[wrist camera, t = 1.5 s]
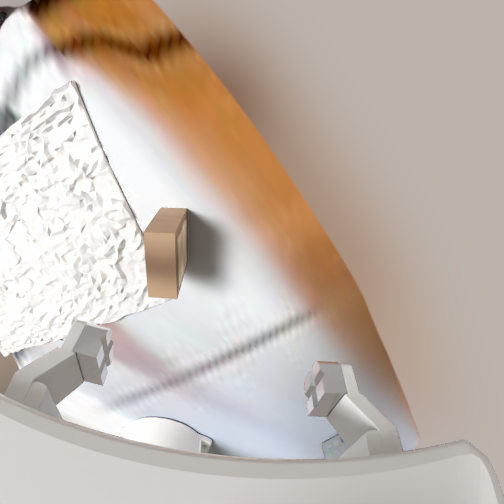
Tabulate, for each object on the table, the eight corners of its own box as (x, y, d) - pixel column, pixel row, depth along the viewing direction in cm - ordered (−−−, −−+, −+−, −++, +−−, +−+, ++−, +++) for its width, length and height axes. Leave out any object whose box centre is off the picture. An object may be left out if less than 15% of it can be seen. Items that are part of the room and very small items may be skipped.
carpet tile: (77, 80, 29) (69, 78, 27) (178, 295, 41) (176, 304, 39) (-71, 214, 33) (-78, 218, 31) (8, 352, 45) (4, 359, 43)
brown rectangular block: (188, 263, 39) (178, 299, 31) (162, 262, 38) (148, 297, 31) (188, 208, 36) (176, 233, 29) (161, 207, 36) (143, 232, 28)
